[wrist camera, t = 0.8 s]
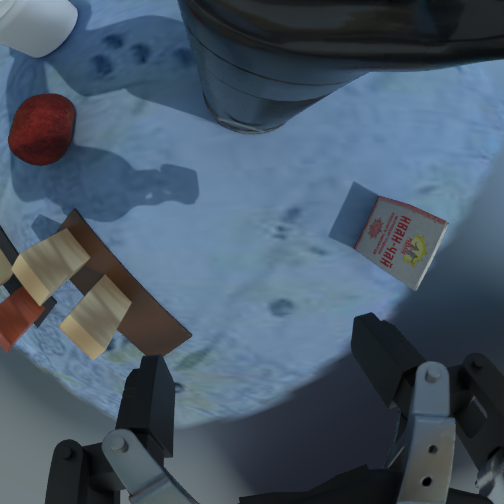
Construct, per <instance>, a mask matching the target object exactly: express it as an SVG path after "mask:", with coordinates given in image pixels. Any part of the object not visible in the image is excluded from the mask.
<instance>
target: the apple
mask: <svg viewBox="0 0 504 504" xmlns="http://www.w3.org/2000/svg"><path fill="white" fill-rule="evenodd" d="M74 118H75V111H74V107H73V105H72V103H71V102H70V101H69V100H68V99H67V98H66V97H64V96H62V95H59V94H39V95H35V96H32V97H30V98H28V99H26V100H25V101H24V102H23V103H22V104H21V106H20V107H19V108H18V110H17V111H16V114H15V116H14V119H13V124H12V127H11V130H10V133H9V137H8V144H9V148H10V150H11V151H12V153H13V154H14V155H15V156H17V157H18V158H19V159H21V160H23V161H24V162H26V163H29V164H31V165H39V166H43V165H49V164H52V163H54V162H56V161H57V160H59V159H60V158H61V157H62V156H63V155H64V154H65V153H66V151H67V149H68V147H69V145H70V142H71V137H72V126H73V121H74Z"/></svg>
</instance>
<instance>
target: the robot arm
mask: <svg viewBox="0 0 504 504" xmlns="http://www.w3.org/2000/svg"><path fill="white" fill-rule="evenodd" d="M177 1H178V5H179V8H180V11H181V15H182V19H183V22H184V26H185V29H186V33H187V36H188V40H189V42H190V46H191V49H192V53H193V56H194V60H195V63H196V67H197V70H198V74H199V78H200V81H201V85H202V88H203V95H204V99H205V103H206V105H207V108H208V110H209V111H210V113H211V114H212V116H213V117H214V118H215V119H216V120H217V121H218V122H219V123H221V124H222V125H223V126H225V127H227V128H228V129H231V130H233V131H236V132H239V133H244V134H262V133H266V132H270V131H272V130H275V129H277V128H278V127H280V126H282V125H283V124H284V123H286V122H287V121H288V120H289V119H291V118H292V117H294V116H295V115H297V114H298V113H300V112H302V111H303V110H305V109H306V108H308V107H310V106H311V105H313V104H314V103H316V102H318V101H319V100H321V99H323V98H324V97H326V96H328V95H329V94H331V93H333V92H334V91H336V90H338V89H339V88H341V87H343V86H345V85H346V84H348V83H350V82H352V81H354V80H355V79H357V78H359V77H361V76H363V75H365V74H367V73H369V72H418V71H430V70H437V69H444V68H450V67H456V66H461V65H467V64H472V63H478V62H485V61H493V60H501V59H504V0H177ZM351 350H352V353H353V356H354V357H355V359H356V361H357V362H358V364H359V365H360V367H361V368H362V370H363V371H364V373H365V374H366V376H367V377H368V379H369V380H370V382H371V383H372V385H373V387H374V388H375V390H376V391H377V393H378V394H379V396H380V397H381V399H382V401H383V402H384V404H385V405H386V407H387V409H391V408H393V407H395V406H398V408H399V409H400V410H399V412H398V417H397V422H396V427H395V432H394V437H393V441H392V445H391V449H390V452H389V455H388V457H387V459H386V461H385V464H384V467H383V469H370V470H369V469H368V467H367V465H366V464H365V465H363V466H360V467H358V468H355V469H353V470H350V471H348V472H344V473H342V474H339V475H336V476H335V477H333V478H331V479H330V480H328V481H326V482H325V483H323V484H321V485H319V486H317V487H315V488H313V489H311V490H310V491H306V492H281V493H280V492H271V493H265V494H260V495H253V496H247V497H239V500H240V503H239V504H504V376H503V375H502V374H501V372H500V371H499V370H498V369H497V368H496V367H495V366H494V365H493V364H492V363H491V361H490V360H489V359H488V358H487V357H486V356H484V355H482V354H480V353H471V354H469V355H467V356H466V357H465V359H464V361H463V363H462V365H457V366H452V367H447V368H446V367H445V366H444V365H442V364H441V363H438V362H434V361H429V362H427V361H426V360H425V359H424V358H423V356H422V355H421V354H420V353H419V352H418V351H417V350H416V349H415V347H414V346H413V345H412V344H411V343H410V342H409V341H408V340H406V338H405V337H404V335H401V332H400V331H399V330H398V329H397V328H396V327H395V326H394V325H392V324H390V323H389V322H387V321H385V320H383V321H380V320H379V319H378V318H377V317H376V316H375V314H374V313H372V312H370V313H367V314H364V315H360V316H357V317H355V318H354V322H353V331H352V340H351ZM124 389H125V390H124V391H123V395H122V397H123V398H122V400H121V404H120V409H119V413H118V418H117V423H116V427H115V430H113V431H111V432H109V433H108V434H107V435H106V436H105V437H104V439H103V441H102V442H101V443H97V444H92V445H88V446H83V447H82V446H81V445H80V444H79V443H78V442H76V441H74V440H71V439H68V440H64V441H62V442H60V443H59V444H58V445H57V446H56V447H55V449H54V453H53V457H52V462H51V467H50V473H49V478H48V485H47V491H46V498H45V504H120V490H123V489H127V491H128V493H129V494H130V496H129V500H130V502H131V503H132V504H200V503H199V502H197V501H196V500H195V499H194V498H193V497H192V496H191V495H190V494H189V493H188V492H187V491H186V490H185V489H184V488H183V487H182V486H181V485H180V484H179V483H178V482H177V481H176V479H174V477H173V476H172V475H171V474H170V473H169V472H168V471H167V470H166V468H164V458H169V457H170V458H171V457H173V430H174V407H175V385H174V381H173V378H172V376H171V374H170V372H169V370H168V367H167V365H166V363H165V361H164V358H163V356H162V355H161V354H158V355H147V356H143V357H142V360H141V364H140V369H133V370H132V372H131V373H130V374H129V376H128V377H127V379H126V383H125V387H124ZM475 397H476V399H477V400H478V401H479V403H480V404H481V405H482V407H483V408H484V409H485V411H486V413H487V419H486V417H485V416H484V414H483V413H482V412H481V411H480V409H479V407H478V406H477V405H476V403H475V402H474V401H473V399H474V398H475ZM455 432H456V434H457V435H458V437H459V438H460V440H461V442H462V444H463V445H464V447H465V448H466V450H467V452H468V454H469V455H470V457H471V459H472V460H473V462H474V464H475V466H476V467H477V469H478V471H479V472H478V475H477V480H476V482H475V487H476V488H477V489H479V494H474V493H470V492H465V491H461V490H457V489H453V488H449V484H450V477H451V471H452V464H453V454H454V444H455Z"/></svg>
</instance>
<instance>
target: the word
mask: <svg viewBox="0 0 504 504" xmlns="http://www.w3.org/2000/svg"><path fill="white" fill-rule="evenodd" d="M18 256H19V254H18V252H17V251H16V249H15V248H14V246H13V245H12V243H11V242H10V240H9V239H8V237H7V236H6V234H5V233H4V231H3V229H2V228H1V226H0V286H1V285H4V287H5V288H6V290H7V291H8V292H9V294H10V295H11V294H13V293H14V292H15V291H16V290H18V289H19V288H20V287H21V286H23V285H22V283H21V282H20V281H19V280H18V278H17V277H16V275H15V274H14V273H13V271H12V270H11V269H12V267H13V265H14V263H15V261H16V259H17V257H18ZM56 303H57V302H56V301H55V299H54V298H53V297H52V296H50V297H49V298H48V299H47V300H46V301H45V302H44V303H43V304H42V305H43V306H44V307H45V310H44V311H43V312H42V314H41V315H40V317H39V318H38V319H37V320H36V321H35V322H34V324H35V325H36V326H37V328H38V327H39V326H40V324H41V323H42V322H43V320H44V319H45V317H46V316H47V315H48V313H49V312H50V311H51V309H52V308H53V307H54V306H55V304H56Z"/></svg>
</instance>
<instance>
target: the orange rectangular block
mask: <svg viewBox="0 0 504 504" xmlns="http://www.w3.org/2000/svg"><path fill="white" fill-rule="evenodd" d="M44 310H45V307H44V306H43V305H41V306H39V305H38V303H37V302H36V301H35V300H34V299H33V297H32V296H31V295H30V294H29V292H28V291H27V290H26V289H25V287H24V286H21V287H20V288H19V289H18V290H16V291H15V292H14V293H13V294H11V295H10V296H9V297H8V298H7V299H5V300H4V301H3V302H2V303H1V304H0V345H1V347H2V348H3V349H4V350H5V352H6V353H7V352H8V351H9V350H10V349H11V347H12V346H13V345H14V344H15V343H16V342H17V341H18V339H19V338H20V337H21V336H22V335H23V334H24V333H25V332H26V330H27V329H28V328H29V327H30V326H31V325H32V324H33V323H34V322H35V321H36V320H37V319H38V318H39V317H40V315H41V314H42V312H43V311H44Z"/></svg>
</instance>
